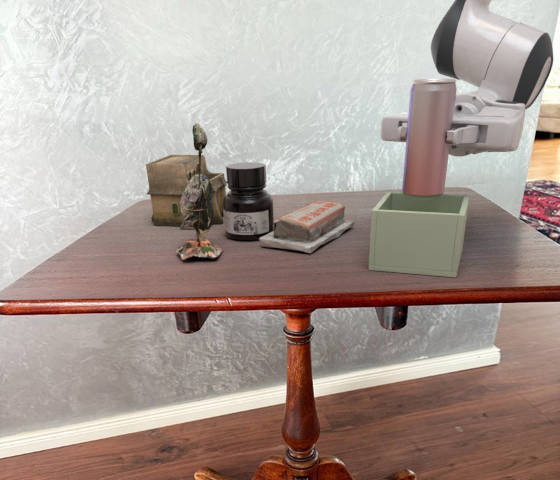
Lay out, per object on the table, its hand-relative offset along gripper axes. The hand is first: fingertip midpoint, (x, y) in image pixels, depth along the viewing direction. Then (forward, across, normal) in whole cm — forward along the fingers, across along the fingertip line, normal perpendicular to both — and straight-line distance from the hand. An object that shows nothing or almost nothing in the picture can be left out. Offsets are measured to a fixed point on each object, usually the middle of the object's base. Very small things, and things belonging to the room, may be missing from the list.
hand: (426, 135), depth 74 cm
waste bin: (-1, 0, +18) cm, 18 cm away
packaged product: (-2, -21, +18) cm, 28 cm away
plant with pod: (+15, -32, +18) cm, 39 cm away
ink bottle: (+2, -31, +18) cm, 36 cm away
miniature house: (0, -49, +18) cm, 52 cm away
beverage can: (-1, 0, +8) cm, 9 cm away
